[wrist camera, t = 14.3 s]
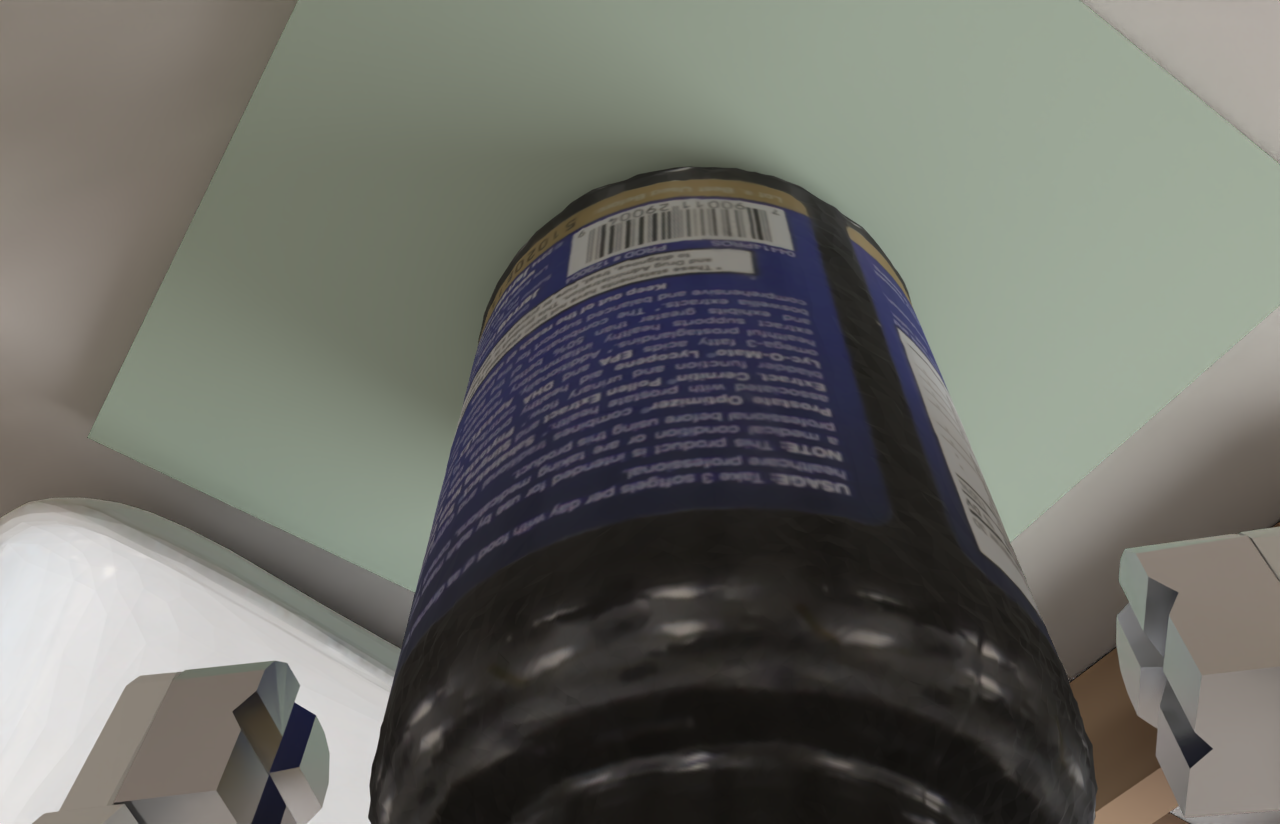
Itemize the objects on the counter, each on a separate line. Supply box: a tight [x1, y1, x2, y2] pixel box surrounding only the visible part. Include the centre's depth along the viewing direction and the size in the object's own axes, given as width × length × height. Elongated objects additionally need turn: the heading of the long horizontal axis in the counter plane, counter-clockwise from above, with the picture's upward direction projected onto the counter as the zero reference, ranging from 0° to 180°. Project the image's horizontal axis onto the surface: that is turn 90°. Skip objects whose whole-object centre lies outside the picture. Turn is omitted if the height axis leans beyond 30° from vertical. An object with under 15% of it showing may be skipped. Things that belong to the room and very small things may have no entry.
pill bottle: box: [368, 167, 1098, 824], centre depth 11 cm, size 6×6×11 cm
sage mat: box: [87, 0, 1280, 593], centre depth 16 cm, size 13×13×1 cm
